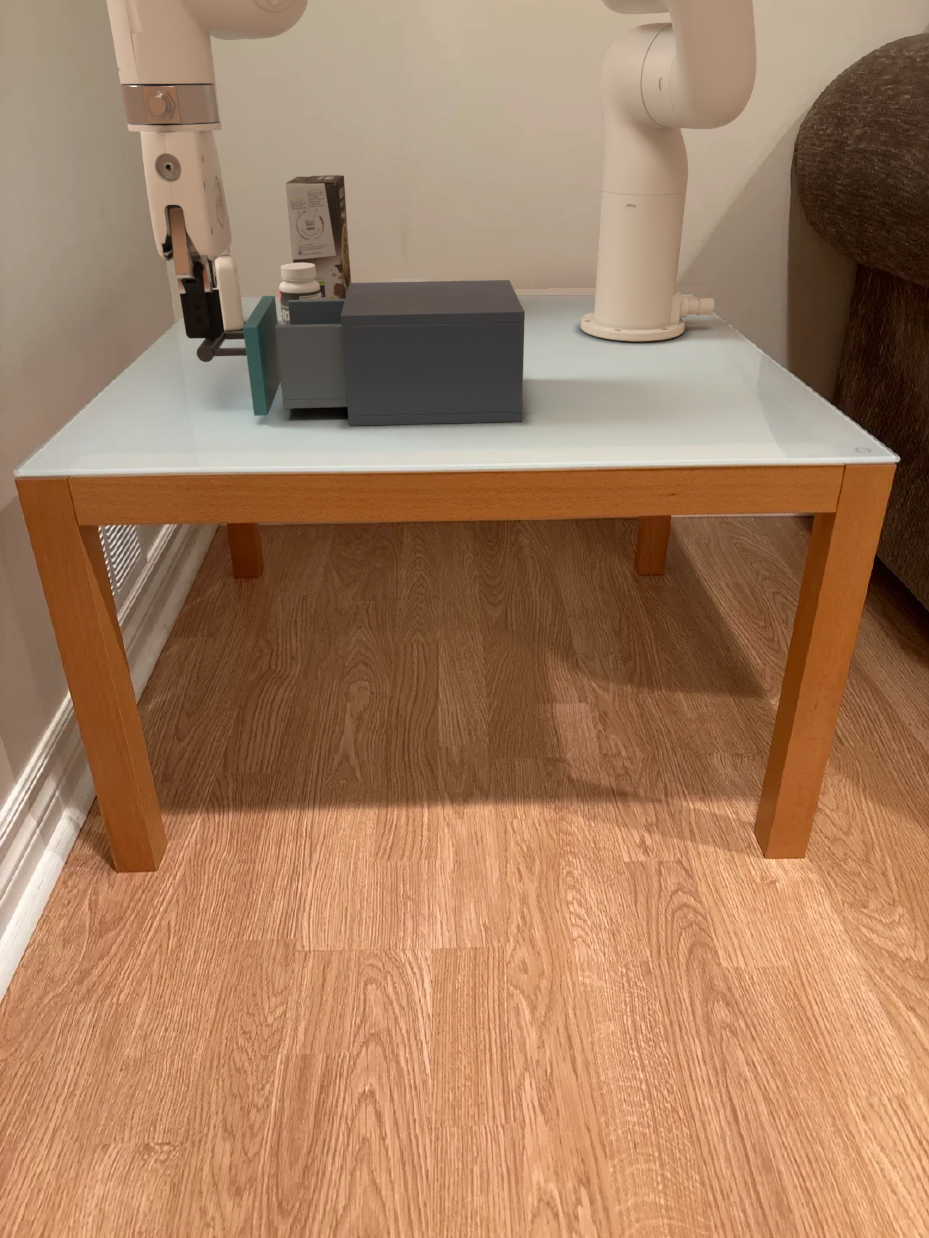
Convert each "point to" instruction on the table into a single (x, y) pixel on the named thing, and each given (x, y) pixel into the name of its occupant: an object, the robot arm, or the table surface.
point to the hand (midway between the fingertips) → (205, 335)
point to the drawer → (290, 354)
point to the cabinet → (433, 352)
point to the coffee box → (321, 230)
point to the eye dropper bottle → (229, 291)
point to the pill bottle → (297, 286)
